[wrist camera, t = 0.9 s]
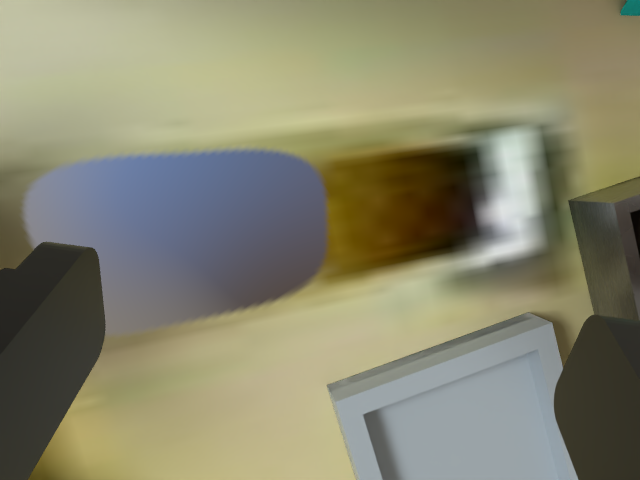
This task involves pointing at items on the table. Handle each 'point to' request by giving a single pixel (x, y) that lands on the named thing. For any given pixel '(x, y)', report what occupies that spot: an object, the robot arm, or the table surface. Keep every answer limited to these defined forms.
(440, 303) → the table surface
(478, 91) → the table surface
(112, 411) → the table surface
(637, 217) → the canister
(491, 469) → the tray
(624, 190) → the holder cup
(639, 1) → the cloth
